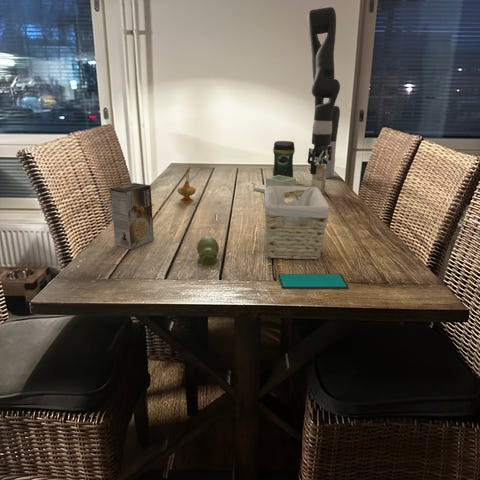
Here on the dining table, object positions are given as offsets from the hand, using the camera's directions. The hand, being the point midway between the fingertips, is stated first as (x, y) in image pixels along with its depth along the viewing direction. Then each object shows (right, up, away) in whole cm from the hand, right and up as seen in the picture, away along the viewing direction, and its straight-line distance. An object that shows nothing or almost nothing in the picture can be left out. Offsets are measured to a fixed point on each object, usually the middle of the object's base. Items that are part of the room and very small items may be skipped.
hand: (318, 173), depth 180 cm
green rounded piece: (-40, -33, -67) cm, 85 cm away
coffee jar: (-13, -1, +21) cm, 25 cm away
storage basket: (-18, -29, -56) cm, 66 cm away
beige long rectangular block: (0, -8, +3) cm, 8 cm away
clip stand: (-15, -6, +6) cm, 17 cm away
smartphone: (-15, -38, -78) cm, 88 cm away
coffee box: (-62, -28, -57) cm, 88 cm away
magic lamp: (-52, -13, -13) cm, 56 cm away
